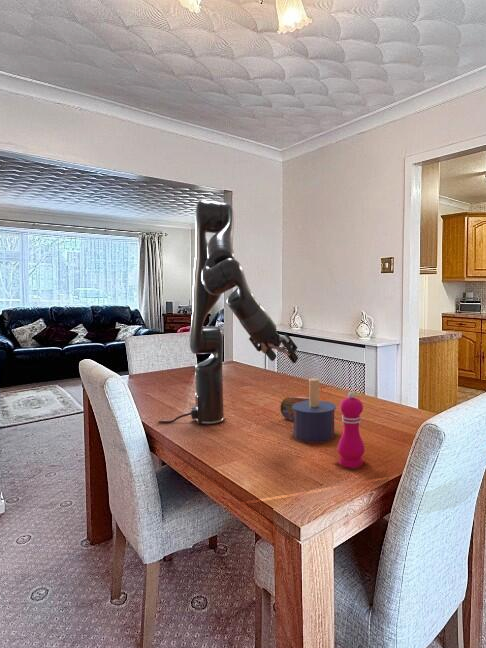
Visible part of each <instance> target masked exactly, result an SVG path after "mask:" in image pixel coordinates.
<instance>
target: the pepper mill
mask: <svg viewBox="0 0 486 648" xmlns="http://www.w3.org/2000/svg"><path fill="white" fill-rule="evenodd" d="M339 410H340V412H341V414H342V415H341V421H342V422H343V431H342V434H341V437H340V439H339V440H338V443H337V453H338V454H339V455H340V456H339V457H338V463H339V465H341V466H342V467H345V468H350V469H351V468H354V469H355V468H359V467H362V466H363V463H364V460H363V457H362V456H363V455H364V454H365V452H366V451H365V443H364V441H363V439H362V436H361V434H360V423H361V421H362V419H361V418H362V416H361V414H363V413H362V412H363V410H364V405H363V402H362V401H361V400H360V399H359V398H357V397H356V393H355V392H354V391H350V392H348V394H347V397H346V398H344V399H342V400H341V402H340V405H339Z"/></svg>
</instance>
